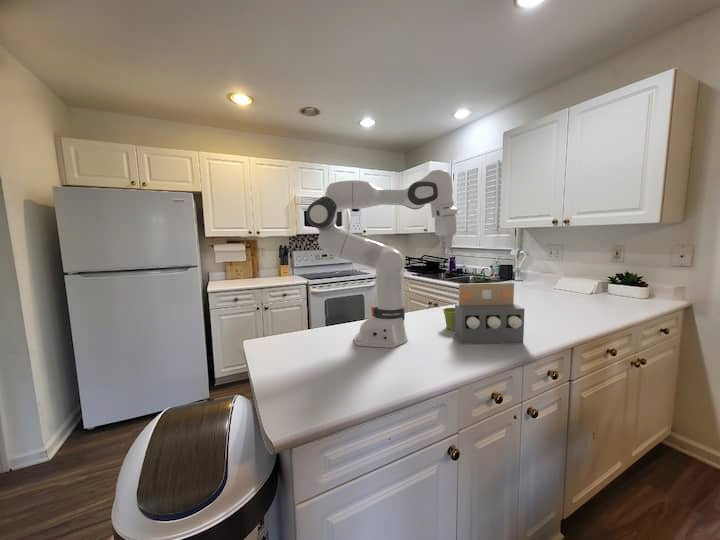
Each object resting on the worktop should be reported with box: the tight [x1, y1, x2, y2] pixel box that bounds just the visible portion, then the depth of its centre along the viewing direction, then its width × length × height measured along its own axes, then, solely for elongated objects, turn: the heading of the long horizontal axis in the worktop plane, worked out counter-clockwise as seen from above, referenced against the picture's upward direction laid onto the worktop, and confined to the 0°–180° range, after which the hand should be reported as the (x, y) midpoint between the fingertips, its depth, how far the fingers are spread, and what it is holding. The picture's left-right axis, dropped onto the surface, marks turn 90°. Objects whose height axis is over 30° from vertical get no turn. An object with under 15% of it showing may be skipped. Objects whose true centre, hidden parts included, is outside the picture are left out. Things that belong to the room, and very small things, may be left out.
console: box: [454, 282, 525, 345], centre depth 121 cm, size 24×10×23 cm, turn 88°
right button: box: [507, 315, 522, 328], centre depth 115 cm, size 4×4×4 cm
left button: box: [465, 316, 480, 329], centre depth 116 cm, size 4×4×4 cm
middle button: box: [486, 315, 501, 329], centre depth 116 cm, size 4×4×4 cm
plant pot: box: [442, 307, 455, 331], centre depth 137 cm, size 9×9×9 cm
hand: (446, 246), depth 119 cm, fingers open, 8 cm apart
